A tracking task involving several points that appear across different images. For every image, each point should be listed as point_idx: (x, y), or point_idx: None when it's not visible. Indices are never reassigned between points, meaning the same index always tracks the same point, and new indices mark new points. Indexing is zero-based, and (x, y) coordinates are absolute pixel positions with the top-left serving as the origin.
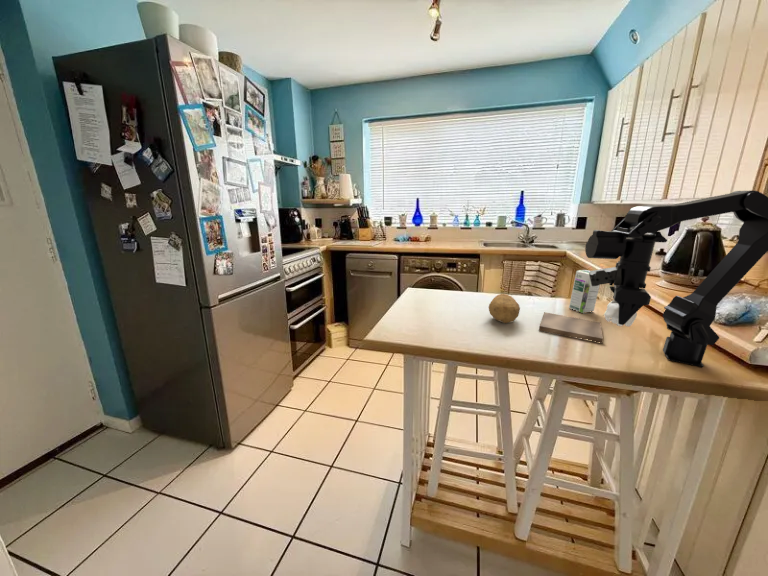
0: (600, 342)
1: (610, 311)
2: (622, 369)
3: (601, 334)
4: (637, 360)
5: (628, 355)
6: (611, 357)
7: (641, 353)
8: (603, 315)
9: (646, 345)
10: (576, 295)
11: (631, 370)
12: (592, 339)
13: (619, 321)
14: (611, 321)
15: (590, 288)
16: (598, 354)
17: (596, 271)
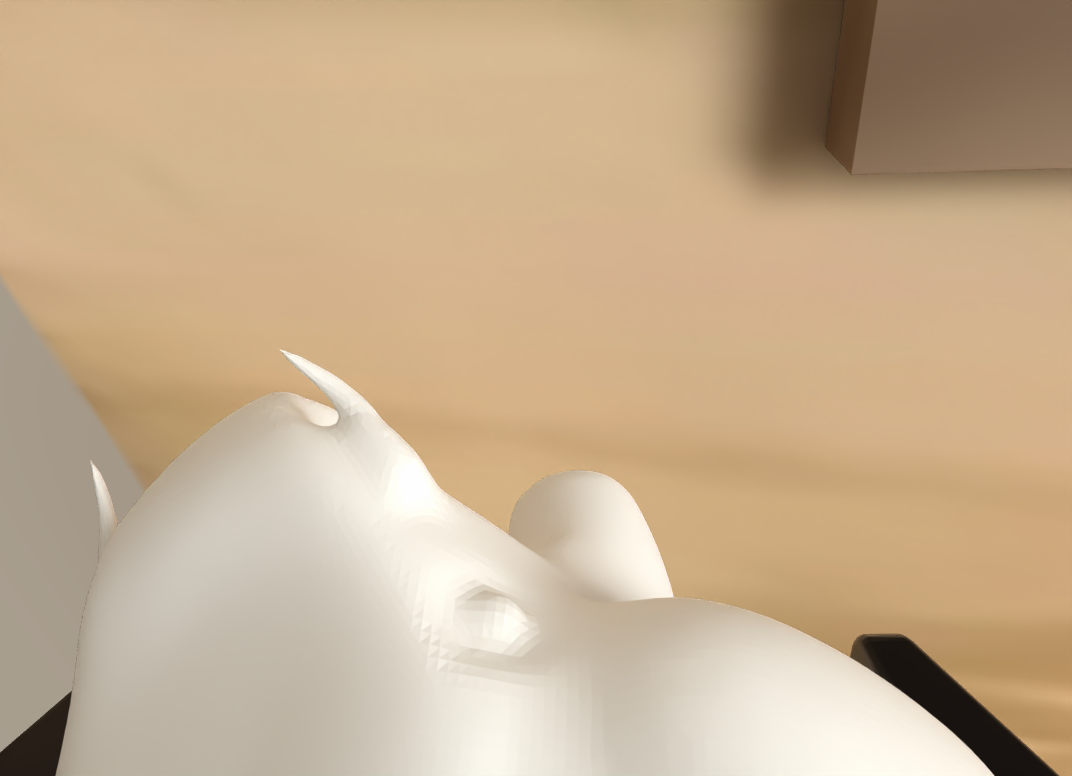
0: (833, 130)
1: (162, 710)
2: (83, 350)
3: (1063, 156)
4: (480, 493)
5: (572, 428)
6: (361, 255)
7: (723, 540)
8: (318, 380)
9: (1011, 599)
10: None
11: (140, 426)
12: (854, 5)
13: (64, 713)
14: (566, 475)
15: None
16: (341, 98)
17: None
